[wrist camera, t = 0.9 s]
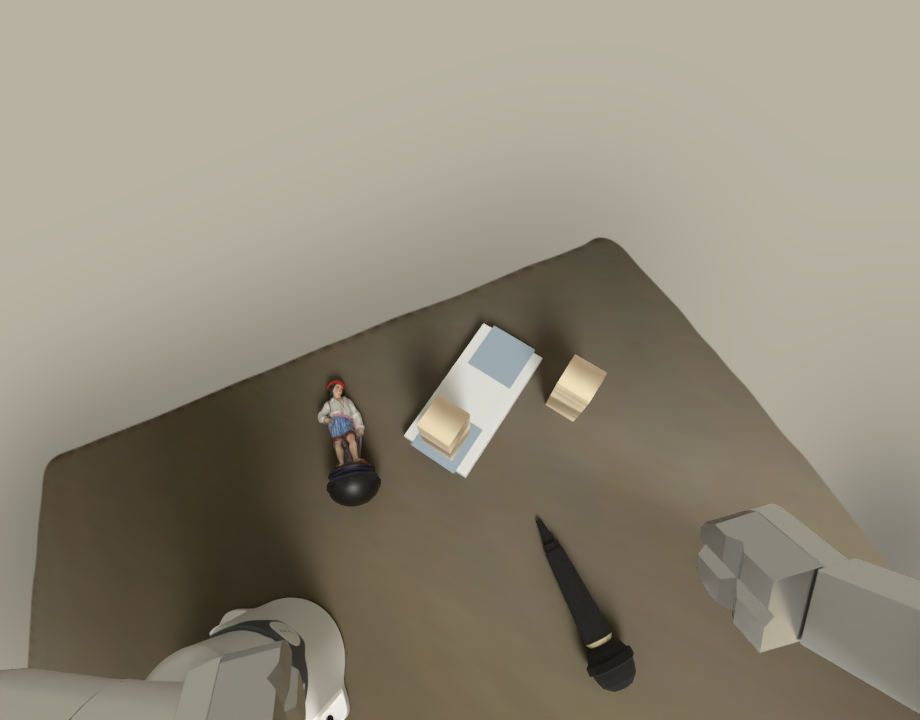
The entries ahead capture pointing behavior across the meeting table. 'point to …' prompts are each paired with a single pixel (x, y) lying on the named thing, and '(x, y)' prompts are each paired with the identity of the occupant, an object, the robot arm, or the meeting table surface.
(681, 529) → the meeting table surface
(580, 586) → the microphone
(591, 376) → the loose pillar
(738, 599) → the robot arm
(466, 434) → the standing pillar
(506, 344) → the white base board
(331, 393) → the figurine
